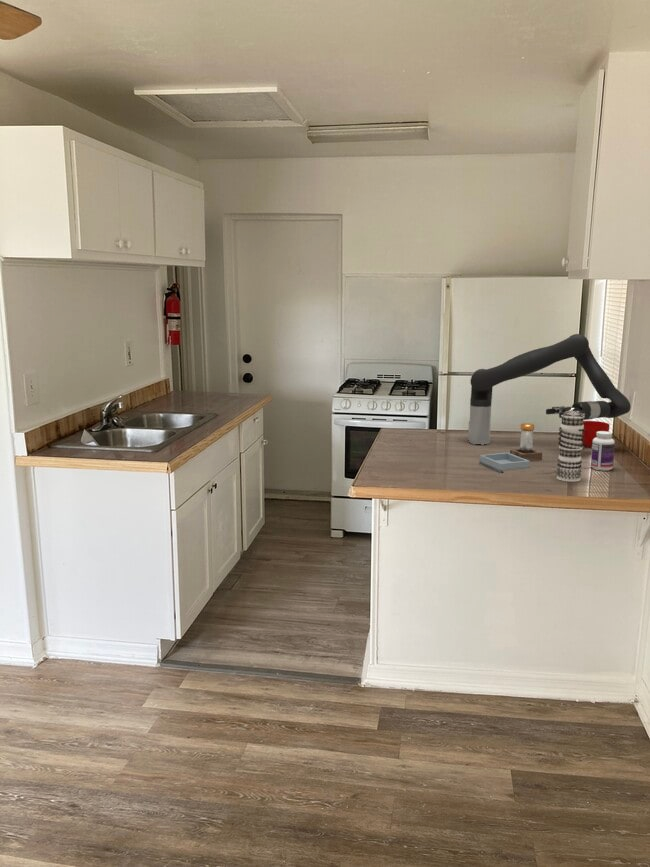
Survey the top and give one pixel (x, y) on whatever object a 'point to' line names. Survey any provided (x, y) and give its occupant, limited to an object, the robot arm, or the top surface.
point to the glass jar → (526, 438)
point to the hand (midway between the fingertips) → (553, 413)
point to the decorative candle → (570, 446)
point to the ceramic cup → (593, 431)
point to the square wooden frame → (527, 455)
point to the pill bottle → (602, 451)
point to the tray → (503, 462)
